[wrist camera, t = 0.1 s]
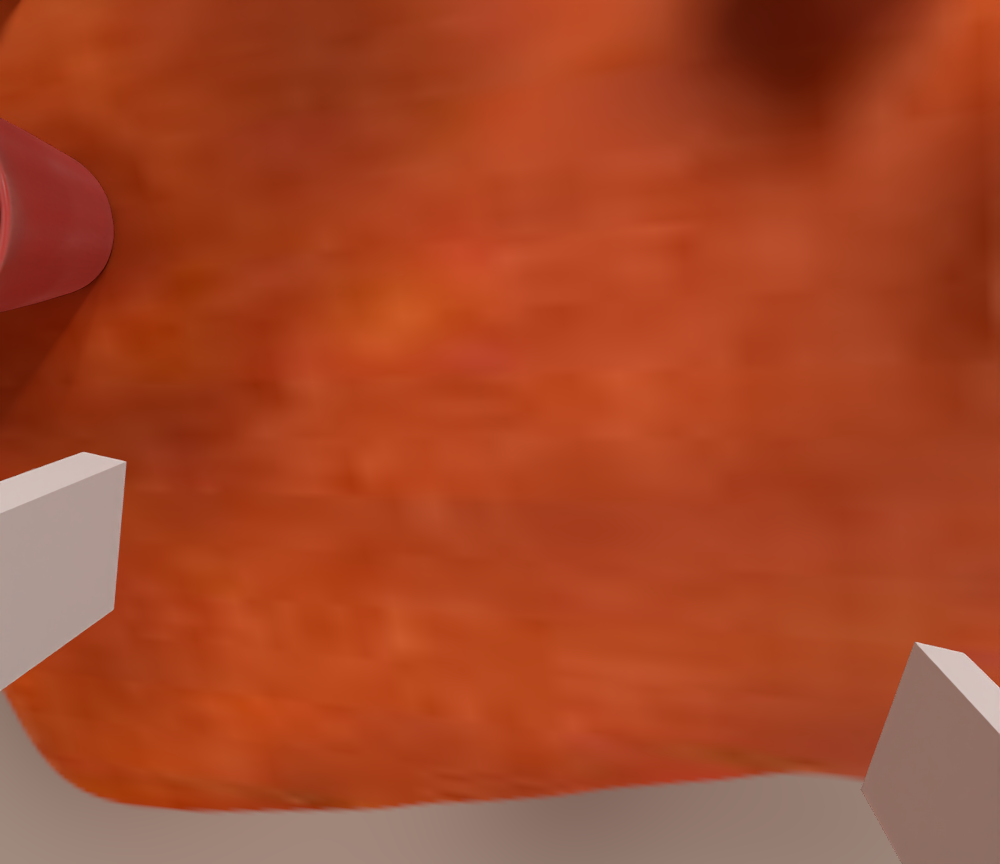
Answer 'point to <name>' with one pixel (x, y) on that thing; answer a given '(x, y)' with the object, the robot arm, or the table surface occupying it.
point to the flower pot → (47, 221)
